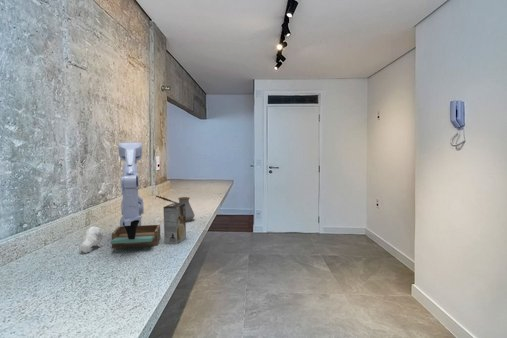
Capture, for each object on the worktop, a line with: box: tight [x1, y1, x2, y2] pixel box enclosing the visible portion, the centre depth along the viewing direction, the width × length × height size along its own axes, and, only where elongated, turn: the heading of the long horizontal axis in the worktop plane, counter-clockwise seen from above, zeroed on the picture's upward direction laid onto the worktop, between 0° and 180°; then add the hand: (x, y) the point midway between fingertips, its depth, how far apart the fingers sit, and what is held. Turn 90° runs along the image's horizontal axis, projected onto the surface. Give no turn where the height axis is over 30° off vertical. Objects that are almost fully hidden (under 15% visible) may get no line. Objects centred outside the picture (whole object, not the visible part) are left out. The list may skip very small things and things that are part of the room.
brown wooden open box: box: [111, 224, 161, 249], centre depth 138 cm, size 12×18×6 cm, turn 100°
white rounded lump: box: [79, 225, 104, 254], centre depth 129 cm, size 6×8×12 cm
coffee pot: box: [154, 195, 195, 223], centre depth 177 cm, size 21×12×15 cm, turn 107°
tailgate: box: [110, 236, 154, 245], centre depth 128 cm, size 2×15×7 cm
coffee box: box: [163, 202, 187, 245], centre depth 140 cm, size 9×6×16 cm
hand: (131, 239), depth 126 cm, fingers closed, pressing on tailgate
